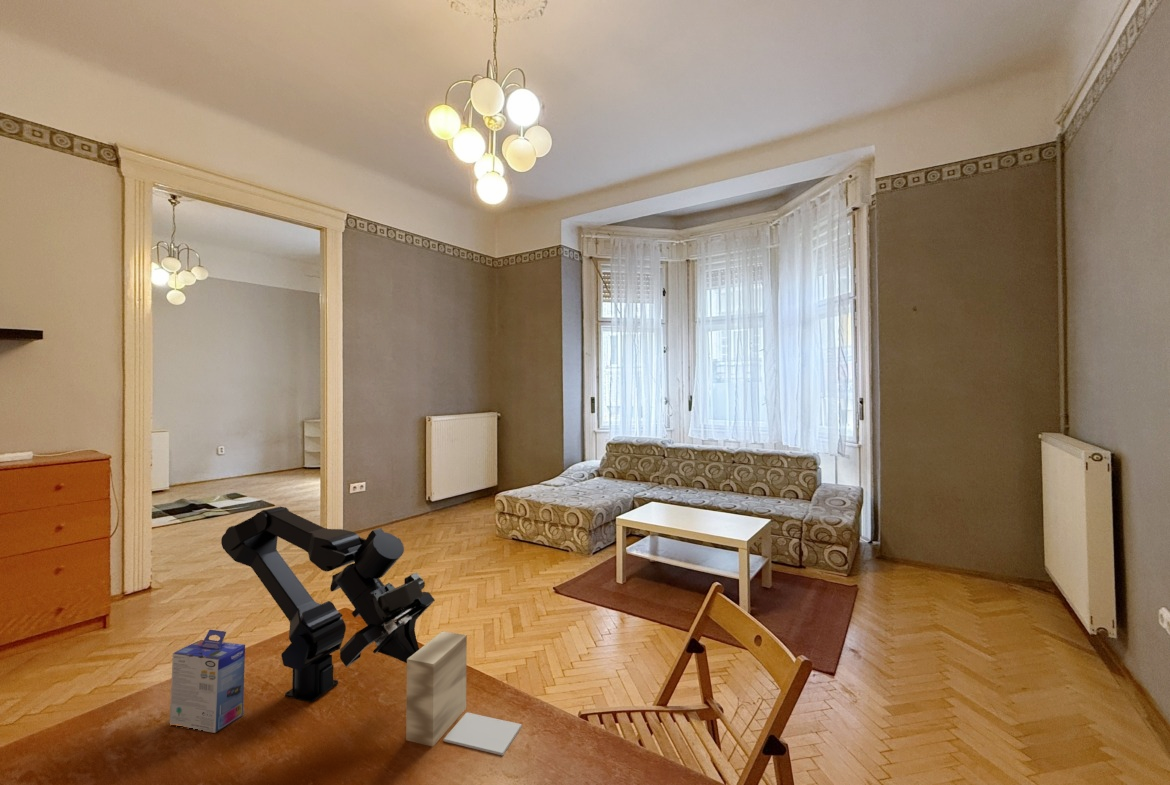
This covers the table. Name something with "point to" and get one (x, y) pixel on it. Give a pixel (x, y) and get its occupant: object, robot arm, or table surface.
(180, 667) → the ink cartridge box
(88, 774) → the table surface
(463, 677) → the birch block
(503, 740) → the white ceramic tile
